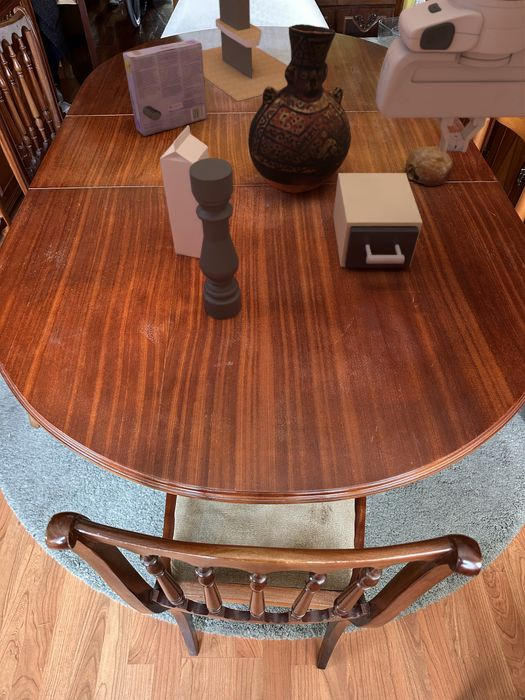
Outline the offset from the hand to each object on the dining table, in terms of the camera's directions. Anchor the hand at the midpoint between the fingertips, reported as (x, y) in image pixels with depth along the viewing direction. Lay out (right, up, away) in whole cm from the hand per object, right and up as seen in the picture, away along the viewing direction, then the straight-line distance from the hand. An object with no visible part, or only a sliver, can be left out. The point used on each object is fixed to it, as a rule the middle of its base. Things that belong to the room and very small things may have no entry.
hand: (451, 150), depth 62 cm
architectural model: (-29, +60, +90) cm, 112 cm away
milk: (-36, -5, +34) cm, 49 cm away
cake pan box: (-46, +33, +67) cm, 87 cm away
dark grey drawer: (-3, -6, +31) cm, 32 cm away
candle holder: (-30, -17, +23) cm, 42 cm away
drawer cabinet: (-3, -4, +35) cm, 35 cm away
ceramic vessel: (-16, +11, +48) cm, 52 cm away
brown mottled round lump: (+13, +14, +50) cm, 54 cm away
